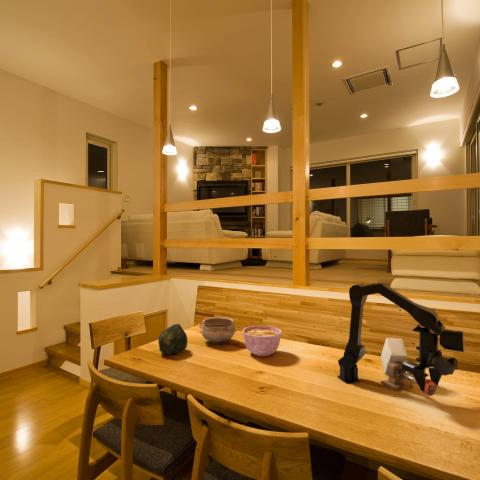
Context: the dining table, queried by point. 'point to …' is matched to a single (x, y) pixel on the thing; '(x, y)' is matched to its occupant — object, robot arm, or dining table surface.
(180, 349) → the squash
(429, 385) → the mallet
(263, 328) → the bowl of food
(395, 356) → the skincare box
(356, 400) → the dining table surface
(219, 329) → the cooking pot
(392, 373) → the wall mount bracket
